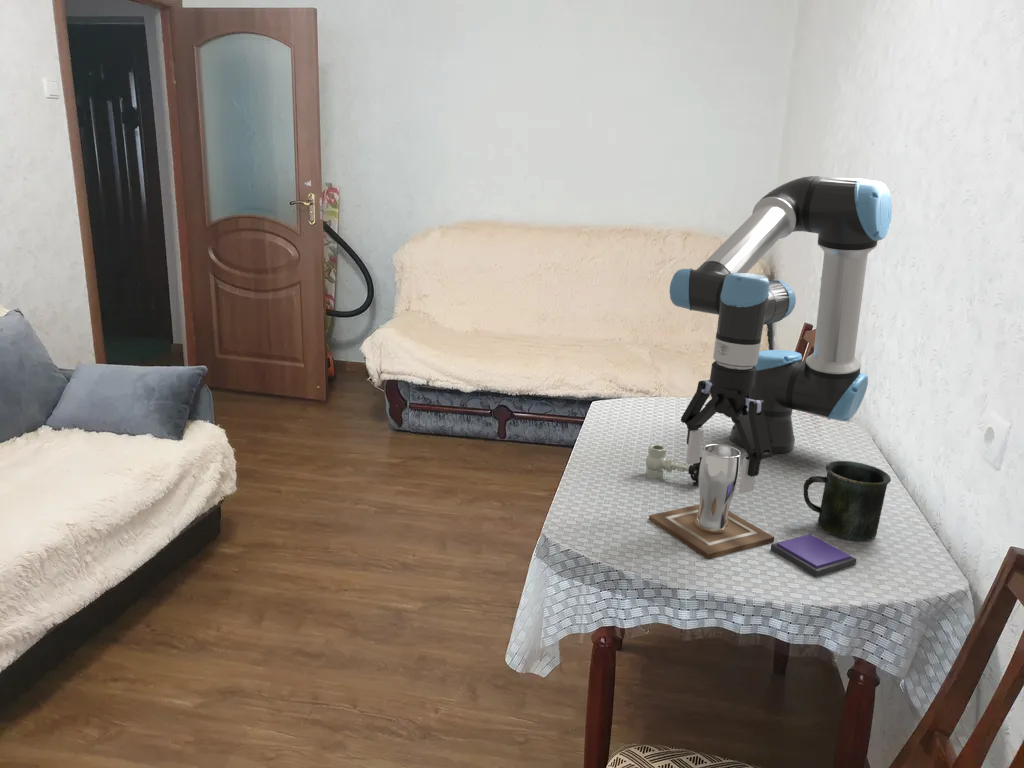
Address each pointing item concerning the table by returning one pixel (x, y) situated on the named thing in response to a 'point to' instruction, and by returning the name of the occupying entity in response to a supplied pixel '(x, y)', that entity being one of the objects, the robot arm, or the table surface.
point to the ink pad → (813, 555)
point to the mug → (850, 499)
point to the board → (707, 543)
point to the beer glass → (717, 486)
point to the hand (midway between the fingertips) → (718, 476)
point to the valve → (667, 464)
